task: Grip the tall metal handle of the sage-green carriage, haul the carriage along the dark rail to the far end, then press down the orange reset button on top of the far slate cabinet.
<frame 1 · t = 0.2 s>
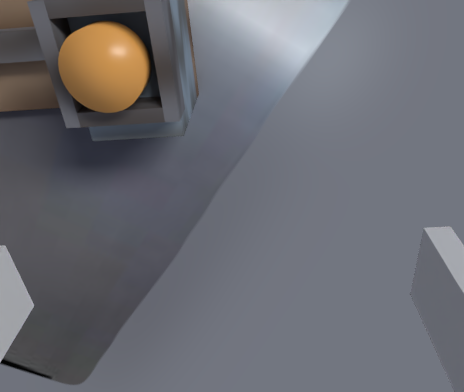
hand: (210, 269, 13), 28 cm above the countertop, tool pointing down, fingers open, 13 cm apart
reset button: (106, 67, 25), point 13 cm above the countertop, slide at 0.0 cm
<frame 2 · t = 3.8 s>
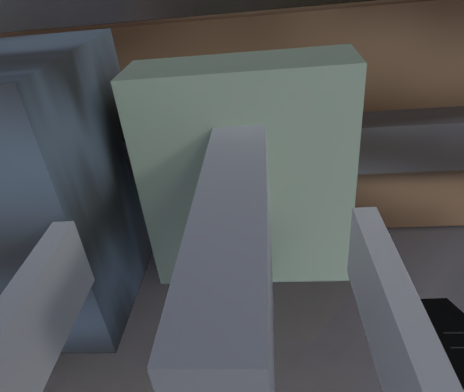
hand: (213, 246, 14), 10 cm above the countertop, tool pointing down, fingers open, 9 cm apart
carriage: (241, 232, 15), point 9 cm above the countertop, slide at -12.0 cm
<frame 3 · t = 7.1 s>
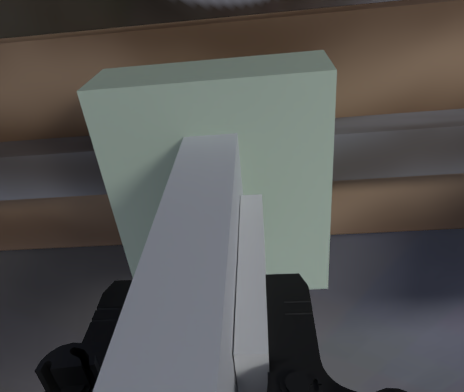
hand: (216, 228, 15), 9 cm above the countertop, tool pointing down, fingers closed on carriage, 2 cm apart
carriage: (214, 243, 14), point 9 cm above the countertop, slide at 0.2 cm, touching gripper
rail bench: (224, 136, 22), on the countertop
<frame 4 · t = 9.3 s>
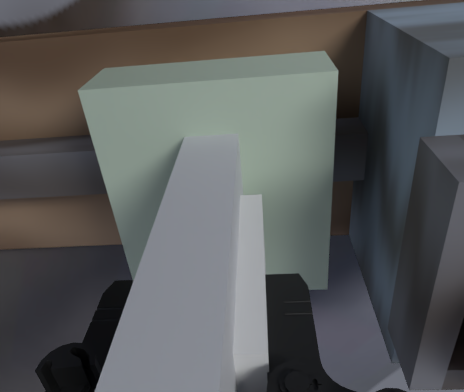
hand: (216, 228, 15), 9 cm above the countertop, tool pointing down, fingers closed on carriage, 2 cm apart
carriage: (214, 243, 14), point 9 cm above the countertop, slide at 11.4 cm, touching gripper
rail bench: (29, 148, 23), on the countertop
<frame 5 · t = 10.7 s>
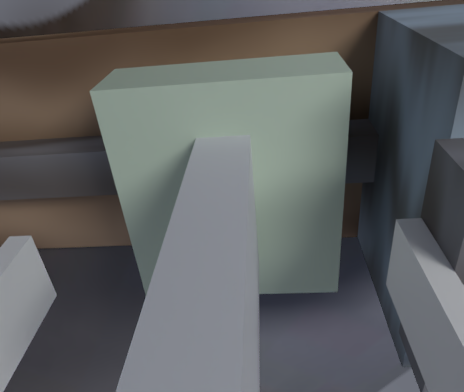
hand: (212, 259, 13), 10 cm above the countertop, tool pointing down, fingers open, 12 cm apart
carriage: (226, 245, 14), point 9 cm above the countertop, slide at 11.5 cm
rail bench: (37, 149, 23), on the countertop
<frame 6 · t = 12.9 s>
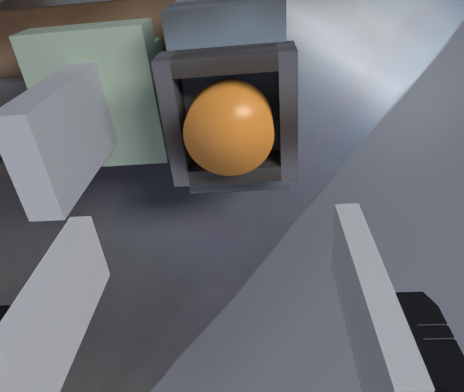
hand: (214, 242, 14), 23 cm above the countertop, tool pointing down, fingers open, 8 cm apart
carriage: (81, 117, 27), point 9 cm above the countertop, slide at 11.5 cm
reset button: (229, 128, 23), point 13 cm above the countertop, slide at 0.0 cm
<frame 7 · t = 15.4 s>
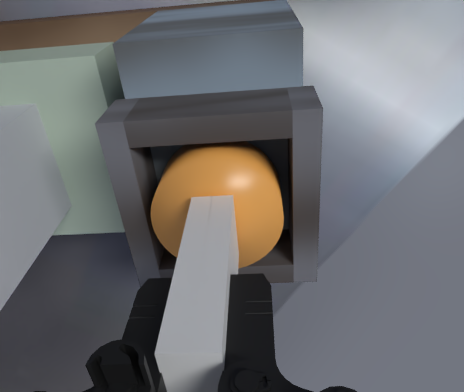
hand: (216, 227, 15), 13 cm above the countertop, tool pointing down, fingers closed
carriage: (12, 184, 19), point 9 cm above the countertop, slide at 11.5 cm
reset button: (218, 204, 16), point 12 cm above the countertop, slide at 0.9 cm, touching gripper
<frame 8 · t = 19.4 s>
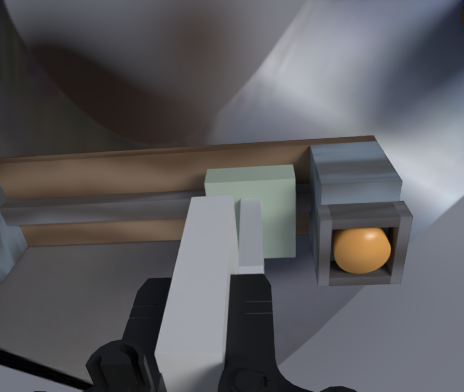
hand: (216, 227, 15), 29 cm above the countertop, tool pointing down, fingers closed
carriage: (252, 237, 40), point 9 cm above the countertop, slide at 11.5 cm
rail bench: (158, 193, 49), on the countertop
reset button: (359, 245, 38), point 11 cm above the countertop, slide at 1.6 cm
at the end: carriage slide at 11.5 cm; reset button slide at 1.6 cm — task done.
